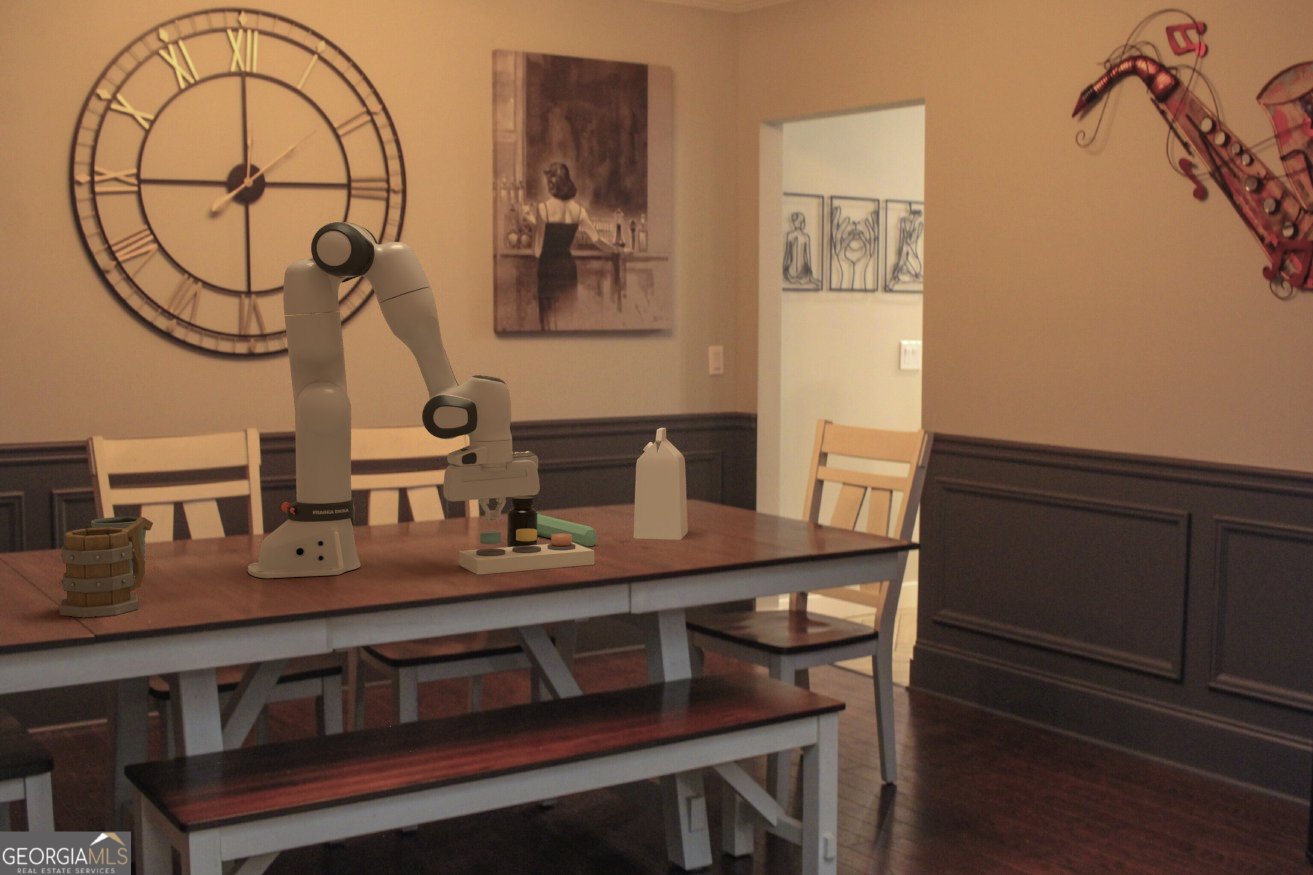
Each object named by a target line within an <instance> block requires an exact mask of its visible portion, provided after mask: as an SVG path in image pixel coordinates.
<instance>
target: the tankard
mask: <svg viewBox="0 0 1313 875" xmlns="http://www.w3.org/2000/svg"><path fill="white" fill-rule="evenodd" d="M139 517H140V518H138V519H137V520H136V521H135V522H134V523H133V524H131V525H130V526H128V527H127V528H126V529H125V528H112V527H110V528H108V527H106V528H92V527H89V528H81V529H75V530H69V531H66V532H65V535H64V543H65V544H64V545H63V546H62V548H61V552H60V557H61V559H62V560H61V562H62V564H65V572H64V573H63V576H62V579H61V581H60V582H61V584H62V589H63V590H62V591H63V592H66V598H64V599H61V600H60V601H59V602H60V603H59V615H60V616H61V617H62V616H63V617H69V616H72V617H71V618H78V617H82V619H86V618H85V617H91V618H96V617H95V616H104V617H116V616H120V615H123V614H126V613H131V612H134V611H138V609H139V597H138V595H137V594H134V593H133V594H132V593H131V592H132V591H134V590H136V589H139V588H140V587H141V586H142V583H143V579H144V578H145V575H146V561H145V558H144V557H143V554H142V551H141V548H140V540H139V532H140V531H141V530H142V529H144V530H146V531H149V532H150V531H151V530H152V528H153V525H154V522H153V521H151V520H150V519H148V518H146V517H143V516H139ZM130 559H131V560H132V563H133V569H132V568H129V560H130ZM119 614H120V615H119Z"/></svg>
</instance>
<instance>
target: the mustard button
mask: <svg viewBox="0 0 1313 875" xmlns="http://www.w3.org/2000/svg"><path fill="white" fill-rule="evenodd" d="M516 540H517V541H535V540H537V541H538V535H537V530H536V529H518V530H516Z"/></svg>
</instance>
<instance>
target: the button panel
mask: <svg viewBox="0 0 1313 875" xmlns="http://www.w3.org/2000/svg"><path fill="white" fill-rule="evenodd" d="M591 565H593V566H594V565H595V550H594V549H591V548H589V547H583V546H581V545H578V544H575V543H573V542H572V545H568V546H554V545H551V543H544V544H537V545H530V546H517V547H507V546H506V547H494V548H492V547H491V548H481V549H471V550H470V549H468V550H459V551H458V566H460V567H462V568H463V569H466V570H468V571H469V572H471V573H474V574H475V575H478V576H479V575H488V574H489V575H490V574H501V573H513V572H523V571H537V570H547V569H548V570H549V569H557V568H558V569H559V568H560V569H561V568H568V567H569V568H571V567H579V566H580V567H581V566H591Z"/></svg>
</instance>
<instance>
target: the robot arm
mask: <svg viewBox="0 0 1313 875" xmlns="http://www.w3.org/2000/svg"><path fill="white" fill-rule="evenodd" d="M310 253H311V257H310V258H305V259H304V258H303V259H300V260H297V261H295V262H293V263H291V264H289V265H288V266H287V267H286V269H285V272H284V277H283V278H284V279H283V292H282V294H283V297H282V300H283V301H282V302H283V314H284V323H285V333H286V334H285V335H286V342H287V351H288V352H287V353H288V359H289V368H290V377H291V385H292V386H291V387H292V396H293V404H294V405H293V406H294V424H295V425H294V429H295V480H296V481H295V482H296V483H295V486H296V500H295V501H293V502H292V503H290V502H287V501H285V502H283V503H282V504H281V507H280V509H281V510H282V512H284V513H286V519H287V520H285V522H282V524H281V525H279V526H278V527H277V528H276V529H275V530H273V531H272V532H270V534H268V535H267V536H266V537H264V539H263V540H262V542H261V545H260V546H259V548H260V549H259V552H258V562H252V563H250V564H249V565H248V566H247V573H248V574H249V575H251V576H253V577H256V578H261V579H274V578H276V579H277V578H278V579H279V578H280V579H282V578H295V577H296V578H298V577H319V576H321V577H323V576H337V575H341V574H343V573H346V572H349V571H354V570H356V569H359V568H360V567H361V565H362V564H361V563H360V559H359V556H358V551H357V547H356V541H355V536H354V534H355V533H354V525H355V504H354V499H352V404H351V400H350V398H349V396H348V394H349V393H348V387H347V374H346V363H345V361H346V360H345V348H344V339H343V337H344V336H343V330H342V329H343V328H342V319H341V312H340V310H341V308H340V302H339V288H340V285H341V284H343V283H346V282H349V281H351V280H353V279H356V278H359V277H363V278H365V279H366V280H367V281H368V282H369V284H370V285H371V287H372V289H373V291H374V294H375V297H376V300H377V302H378V306H379V308H380V311H381V314H382V316H383V318H384V320H385V322H386V324H387V325H388V327H389V329H390V331H391V332H392V334H393V335H394V336H395V337H396V338H397V339H399V340H400V341H401V342H402V343H403V344H404V345H405V346H407V348H408V349H409V350H410V352H411V353H412V355H413V356H414V358H415V360H416V362H417V365H418V367H419V370H420V372H421V375H422V378H423V381H424V384H425V386H426V388H427V392H428V394H429V395H428V396H429V400H428V401H427V402H426V403H425V405H424V406H423V409H422V412H421V413H422V414H421V415H422V416H421V418H422V420H421V421H422V423H423V427H424V428H425V430H426V431H427V433H429V434H430V435H431V436H433V437H435V438H438V439H440V440H452V439H455V438H458V437H461V436H468V438H469V439H468V440H469V444H468V445H467V446H464V447H462V448H459V449H457V450H454V451H452V452H449V453H448V454H447V455H446V459H447V463H449V465H448V466H447V467H446V468H445V471H444V474H443V475H444V476H443V488H442V489H443V490H442V491H443V497H444V498H445V499H446V500H447V501H449V502H462V501H466V502H467V501H477V500H478V502H479V505H480V506H481V508H482V509H483V511H484V518H485V520H486V521H495V520H501V519H502V511H503V509H504V507H505V505H506V503H507V499H506V498H512V497H518V496H535V495H538V493H539V492H540V489H541V487H540V477H539V472H538V469H539V457H538V456H537V454H535V453H533V452H532V451H531V450H525V451H513V436H512V433H511V428H510V427H511V421H512V404H511V403H512V402H511V394H510V389H509V387H508V385H507V383H506V381H504V380H503V379H501V378H498V377H495V376H489V375H481V374H477V375H472V376H470V378H469V379H467V380H466V381H464V382H463V383H461V384H459V383H458V381H457V379H456V377H455V374H454V371H453V368H452V365H451V364H450V361H449V358H448V355H447V353H446V351H445V350H446V349H445V348H444V344H443V341H442V335H441V330H440V329H441V328H440V327H441V326H440V321H439V315H438V309H437V304H436V301H435V296H434V293H433V291H432V288H431V285H430V281H429V279H428V276H427V274H426V272H425V270H424V267H423V266H422V264H421V262H420V261H419V258H418V256H417V255H416V253H415V252H414V249H413V248H412V247H411V246H410V245H408V244H407V243H405V242H401V241H390V242H386V243H382V244H378V240H377V239H376V237H375V235H374V234H373V233H372V232H371V231H370V230H369V229H367V228H365V227H363V226H361V225H358V224H356V223H354V222H348V221H344V222H341V221H333V222H330V223H327V224H325V225H323V226H321V227H320V228H319V229H318V230H317V231H316V232H315V234H314V236H313V237H312V239H311V245H310ZM490 499H495V502H497V505H496V507H495V510H491V509H490V508H489V506H488V505H489V504H490Z"/></svg>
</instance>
